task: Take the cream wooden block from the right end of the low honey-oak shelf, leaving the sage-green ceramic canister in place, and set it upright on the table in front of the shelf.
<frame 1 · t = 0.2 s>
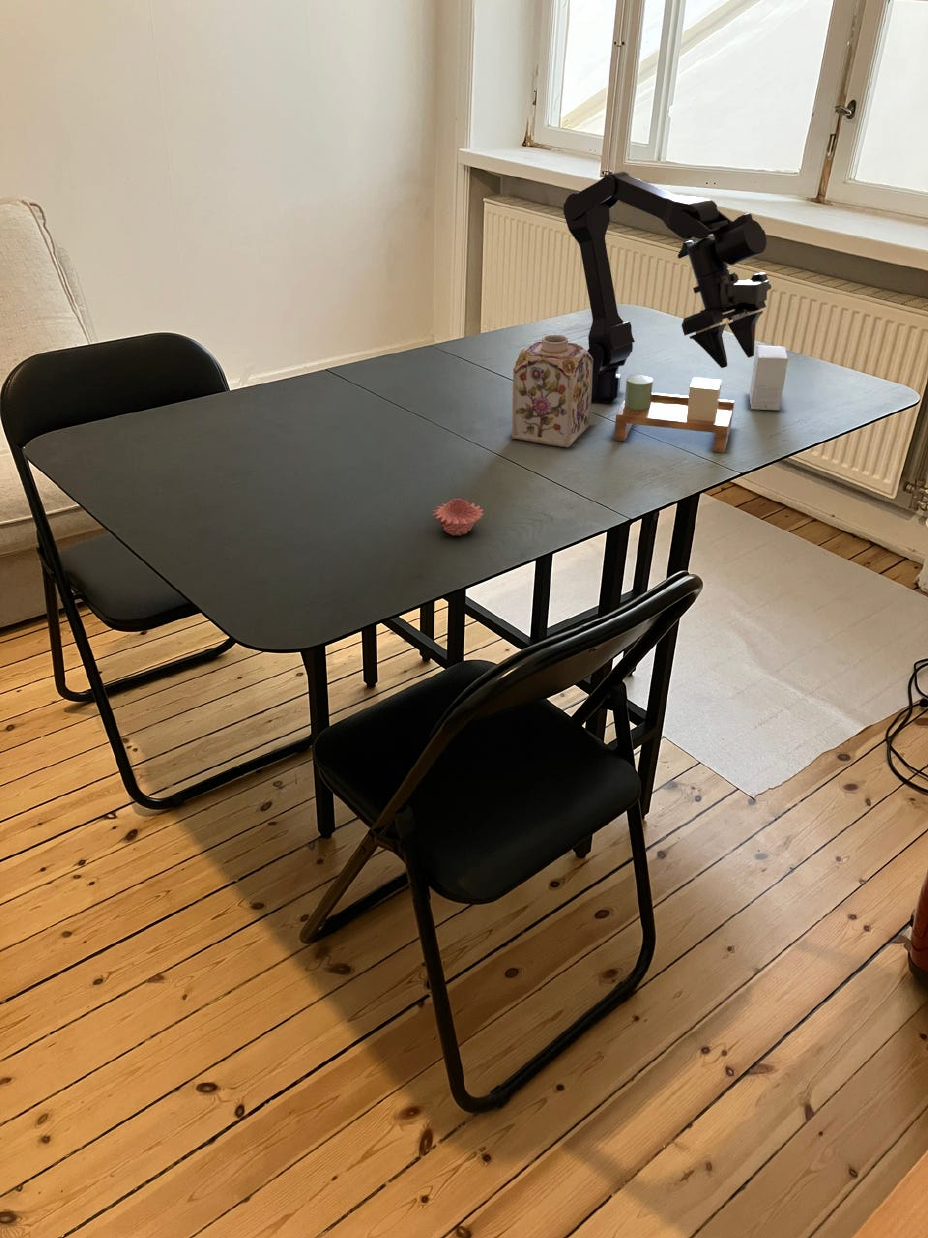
hand: (738, 361, 176), 15 cm above the table, tool tilted 30°, fingers open, 9 cm apart
decorative jar: (550, 433, 189), on the table
ceramic canister: (637, 405, 186), point 5 cm above the table, touching shelf
small box: (763, 404, 200), on the table
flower: (458, 533, 155), on the table
shelf: (672, 435, 187), on the table
cream block: (702, 415, 182), point 5 cm above the table, touching shelf
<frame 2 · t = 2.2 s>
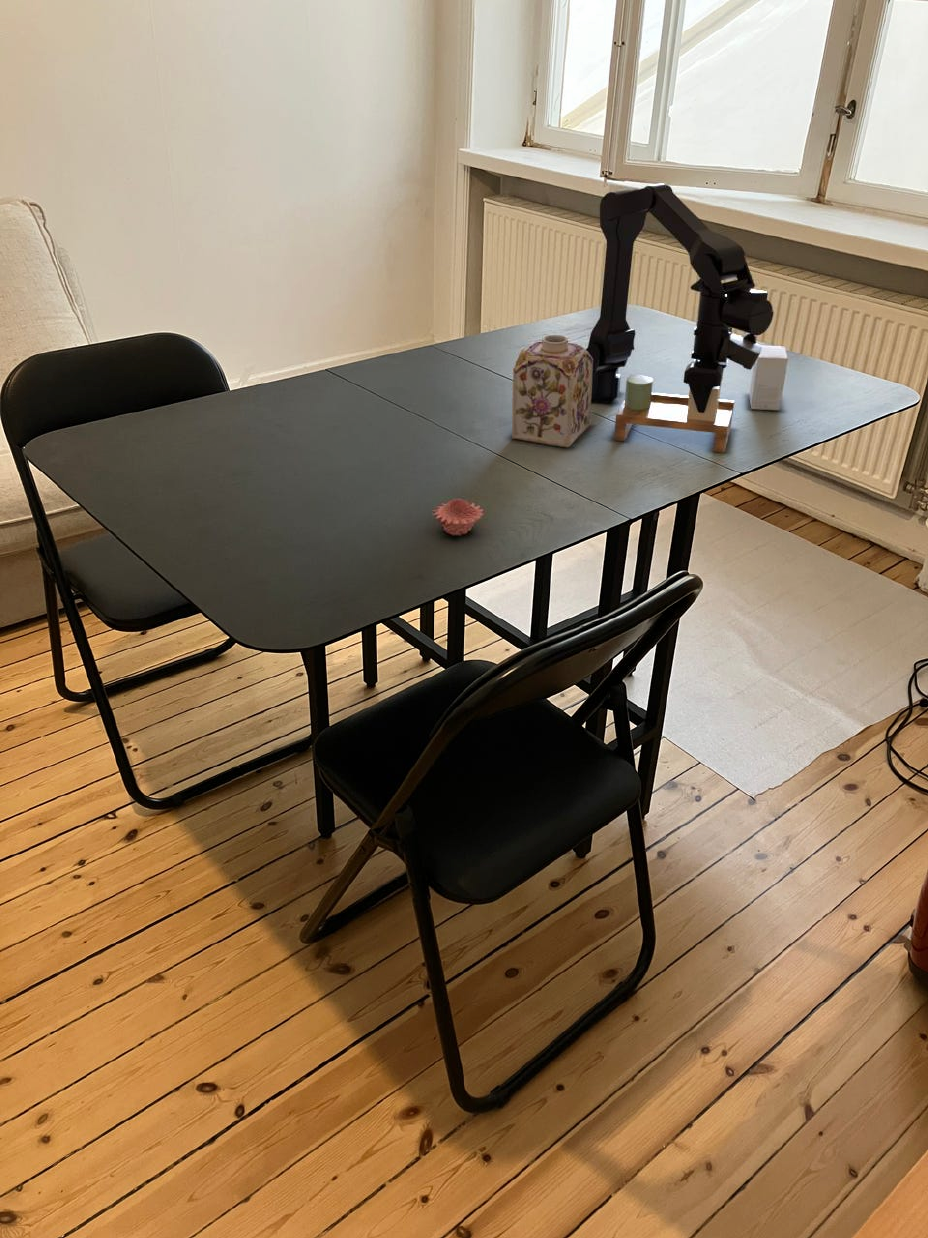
hand: (702, 407, 181), 7 cm above the table, tool pointing down, fingers closed on cream block, 5 cm apart
cream block: (702, 415, 182), point 5 cm above the table, touching gripper, shelf
everything else where it was.
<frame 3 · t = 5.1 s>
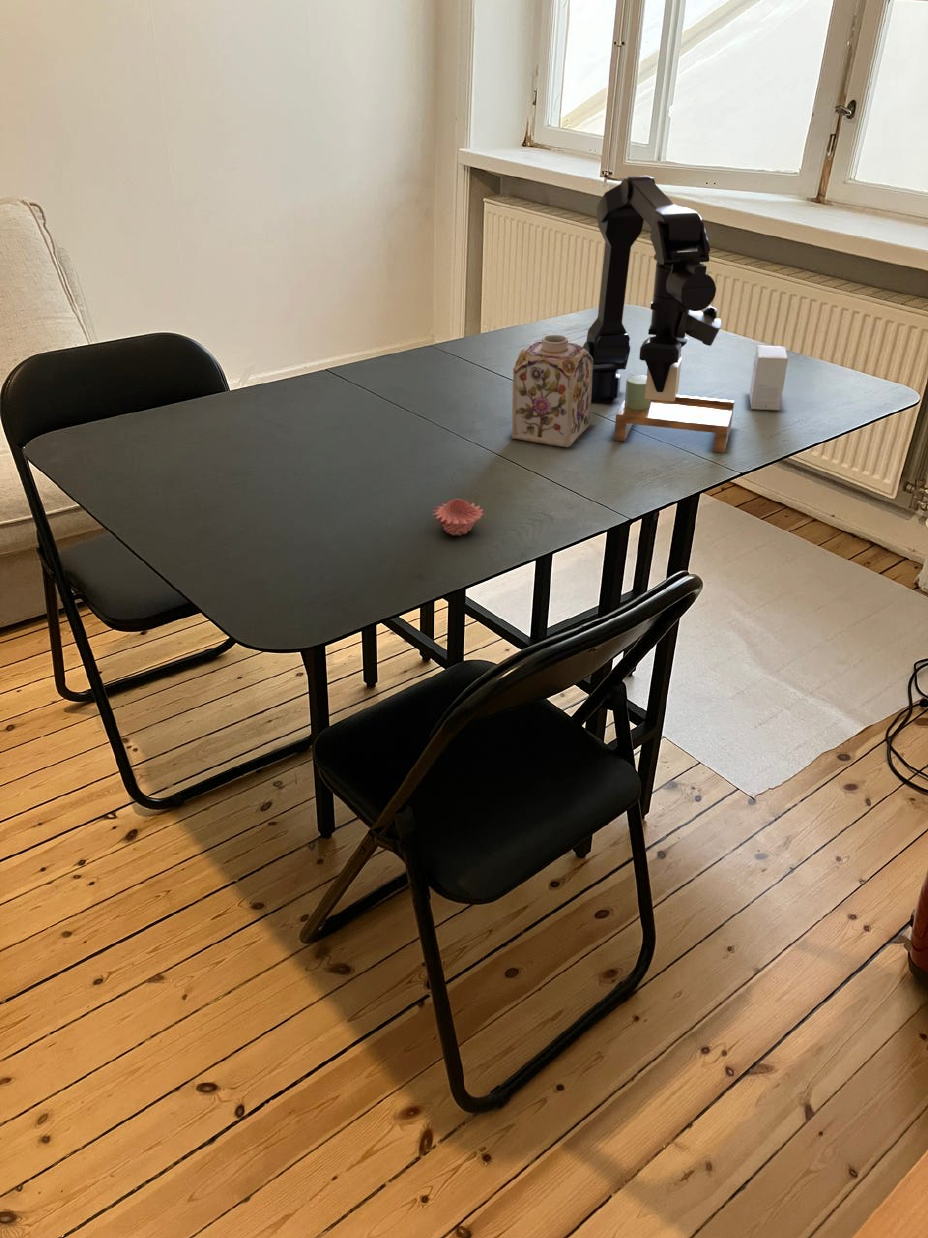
hand: (662, 386, 172), 13 cm above the table, tool pointing down, fingers closed on cream block, 5 cm apart
cream block: (661, 395, 173), point 11 cm above the table, touching gripper
everything else where it was.
when the fingers open (2 cm above the table, at t = 8.2 s): cream block stays where it is, on the table.
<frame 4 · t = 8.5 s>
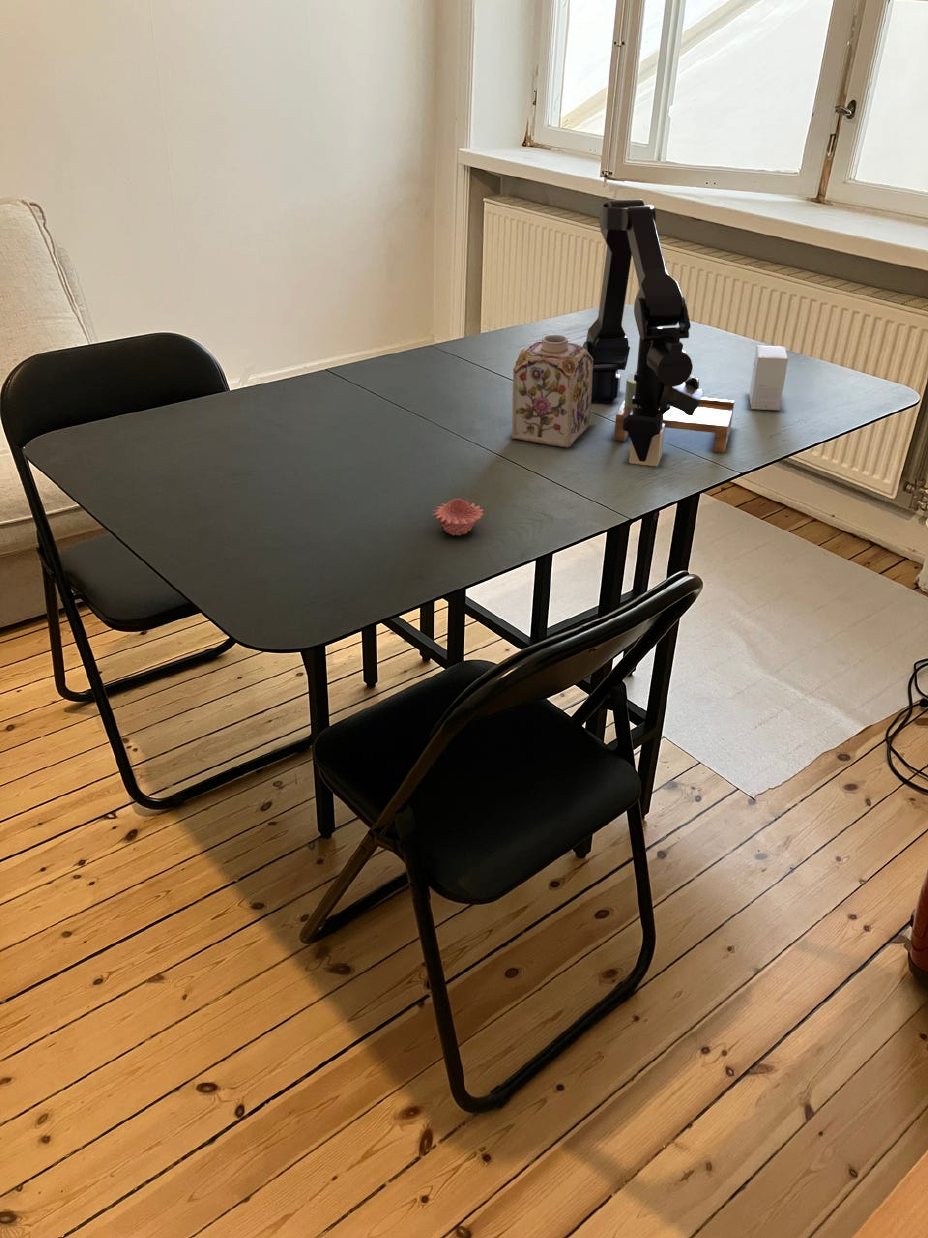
hand: (646, 452, 177), 1 cm above the table, tool pointing down, fingers open, 7 cm apart
cream block: (645, 459, 178), on the table
everything else where it was.
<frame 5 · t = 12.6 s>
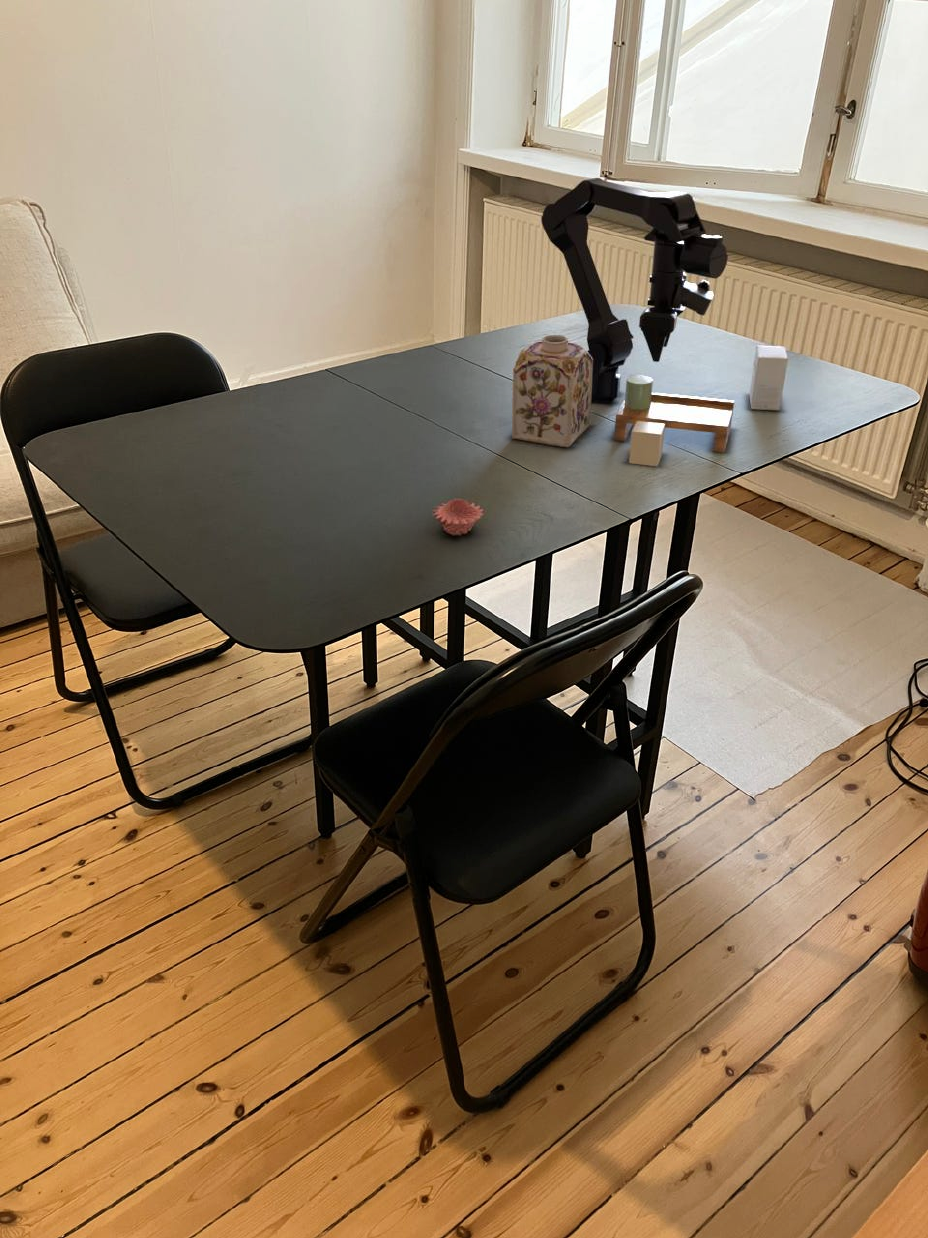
hand: (660, 353, 189), 12 cm above the table, tool pointing down, fingers open, 9 cm apart
nothing on the table moved.
at the end: cream block inside the target area (0.1 cm from its centre), on the table; cream block tilted 0°; the gripper is holding nothing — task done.
